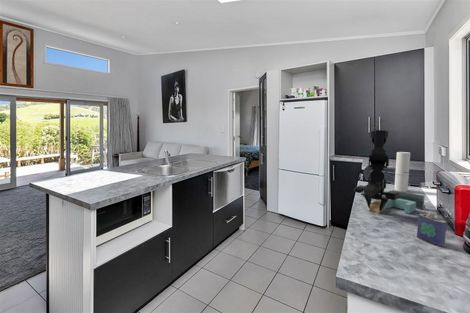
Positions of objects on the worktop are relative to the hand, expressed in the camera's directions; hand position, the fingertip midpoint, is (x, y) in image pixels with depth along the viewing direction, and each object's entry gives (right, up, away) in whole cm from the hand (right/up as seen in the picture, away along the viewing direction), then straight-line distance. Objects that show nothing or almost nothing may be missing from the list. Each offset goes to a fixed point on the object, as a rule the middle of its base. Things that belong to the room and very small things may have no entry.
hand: (375, 209), depth 119 cm
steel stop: (+21, 0, +8) cm, 22 cm away
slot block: (+14, -1, +2) cm, 14 cm away
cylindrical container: (+39, +4, +39) cm, 55 cm away
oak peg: (+2, -1, +2) cm, 3 cm away
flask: (+1, -5, -32) cm, 32 cm away
